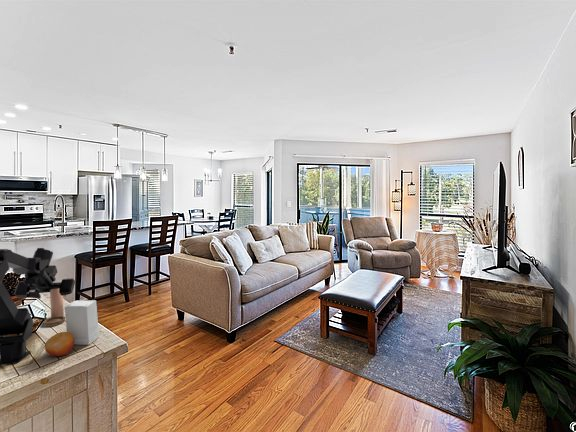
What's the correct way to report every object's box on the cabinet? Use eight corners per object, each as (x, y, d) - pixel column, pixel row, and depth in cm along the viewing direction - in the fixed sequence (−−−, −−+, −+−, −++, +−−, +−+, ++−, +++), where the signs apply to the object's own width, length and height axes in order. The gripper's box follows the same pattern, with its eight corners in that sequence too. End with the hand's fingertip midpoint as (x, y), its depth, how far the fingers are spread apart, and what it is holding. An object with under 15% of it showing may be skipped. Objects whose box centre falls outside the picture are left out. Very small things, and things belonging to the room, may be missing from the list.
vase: (59, 318, 127) (58, 287, 125) (48, 319, 126) (47, 287, 125) (65, 314, 131) (64, 284, 130) (55, 314, 130) (54, 284, 129)
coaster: (58, 326, 120) (58, 322, 120) (39, 326, 119) (39, 323, 119) (68, 318, 127) (68, 315, 127) (50, 319, 126) (50, 316, 126)
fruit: (84, 341, 106) (74, 328, 101) (69, 363, 99) (57, 350, 95) (64, 340, 107) (53, 327, 102) (47, 361, 100) (35, 348, 96)
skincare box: (99, 337, 112) (98, 299, 111) (88, 346, 106) (87, 306, 105) (77, 337, 112) (76, 299, 111) (65, 345, 106) (64, 305, 105)
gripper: (72, 259, 121) (83, 278, 132) (16, 261, 115) (32, 280, 126) (65, 284, 114) (77, 301, 125) (5, 288, 108) (23, 305, 120)
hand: (53, 296), depth 124 cm, fingers open, 9 cm apart
